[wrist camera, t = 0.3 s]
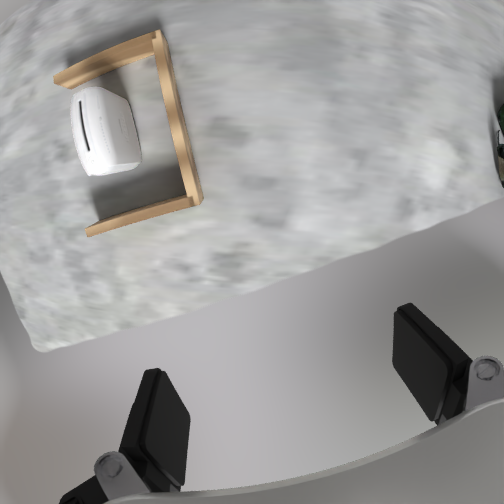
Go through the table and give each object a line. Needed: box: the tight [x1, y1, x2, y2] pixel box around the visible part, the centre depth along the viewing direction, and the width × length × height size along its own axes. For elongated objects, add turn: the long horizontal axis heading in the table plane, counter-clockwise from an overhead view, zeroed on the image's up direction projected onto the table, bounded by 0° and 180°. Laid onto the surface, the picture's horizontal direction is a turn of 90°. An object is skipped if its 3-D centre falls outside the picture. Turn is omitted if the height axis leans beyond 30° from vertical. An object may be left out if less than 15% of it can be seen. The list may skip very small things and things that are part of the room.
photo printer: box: [70, 86, 142, 176], centre depth 29 cm, size 10×4×12 cm, turn 13°
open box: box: [53, 30, 204, 237], centre depth 32 cm, size 23×16×5 cm
